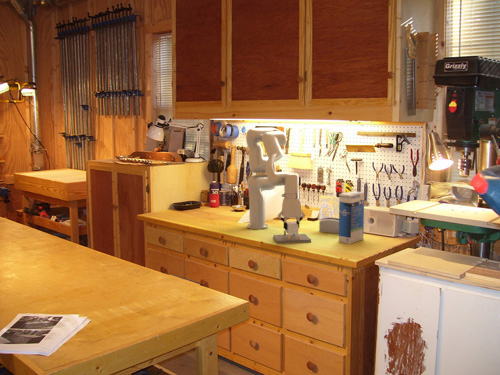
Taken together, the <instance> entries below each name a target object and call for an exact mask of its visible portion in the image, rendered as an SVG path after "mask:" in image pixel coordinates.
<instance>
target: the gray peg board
mask: <svg viewBox="0 0 500 375" xmlns="http://www.w3.org/2000/svg"><path fill="white" fill-rule="evenodd" d="M272 237H273V238H272V239H273V240H274V241H275V243H276V244H278V245H280V244H298V243H299V244H301V243H305V244H307V243H312V239H311V238H310V237H309V236H308V235H307V234H306V233H298V234H288V233H287V232H286V231H285V229H283V234H273V235H272Z"/></svg>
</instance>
